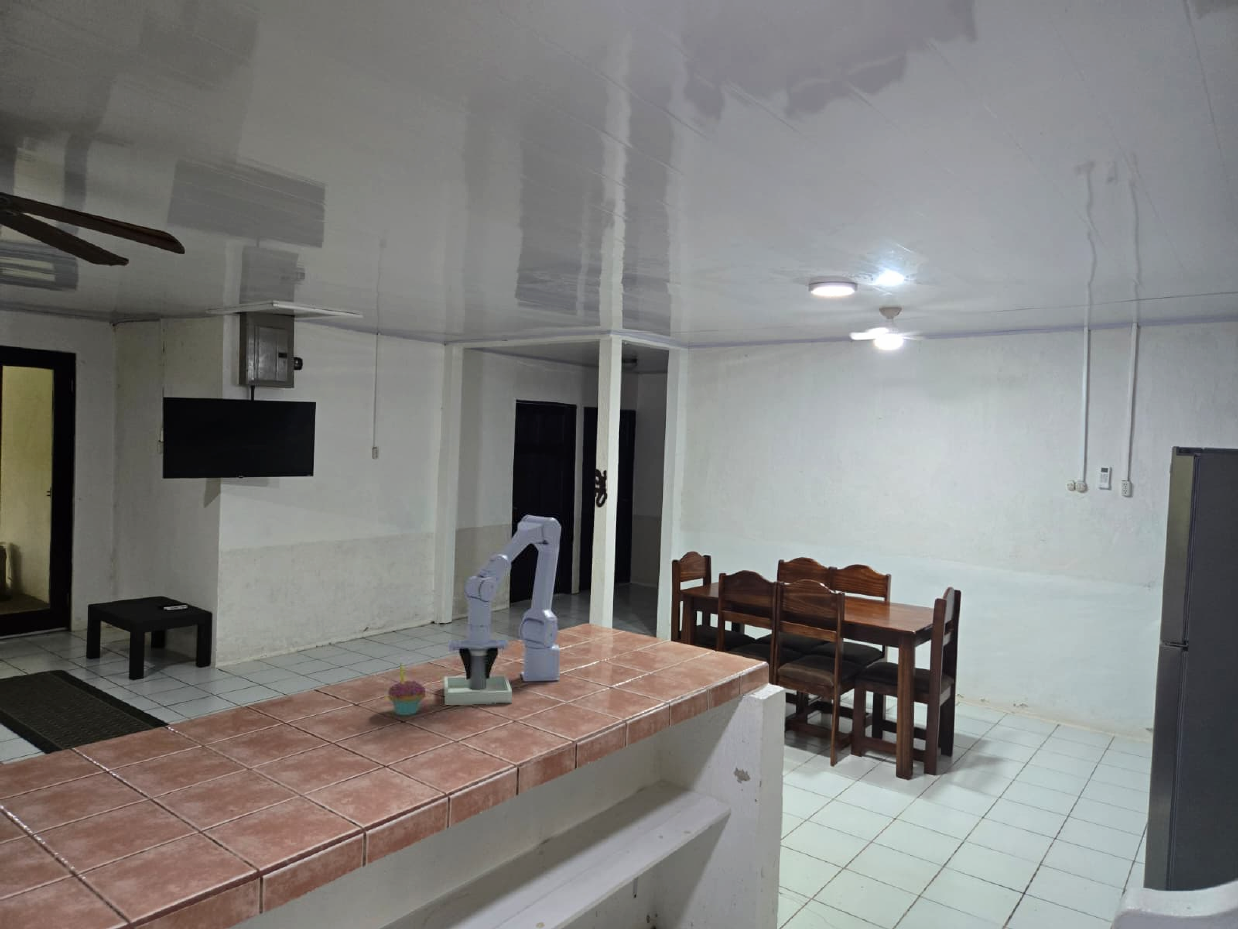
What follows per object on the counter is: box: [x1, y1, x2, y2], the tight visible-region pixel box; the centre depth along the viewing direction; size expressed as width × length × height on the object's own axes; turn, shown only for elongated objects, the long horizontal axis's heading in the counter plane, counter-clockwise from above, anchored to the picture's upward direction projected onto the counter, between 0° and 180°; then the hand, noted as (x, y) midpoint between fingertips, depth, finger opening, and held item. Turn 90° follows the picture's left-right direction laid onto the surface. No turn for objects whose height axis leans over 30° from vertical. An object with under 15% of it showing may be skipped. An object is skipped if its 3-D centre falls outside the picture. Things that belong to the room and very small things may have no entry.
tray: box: [443, 674, 513, 706], centre depth 206 cm, size 16×14×3 cm
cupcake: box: [387, 663, 427, 716], centre depth 192 cm, size 9×8×12 cm
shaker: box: [468, 649, 488, 690], centre depth 206 cm, size 5×5×10 cm
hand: (477, 678), depth 206 cm, fingers closed on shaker, 4 cm apart
